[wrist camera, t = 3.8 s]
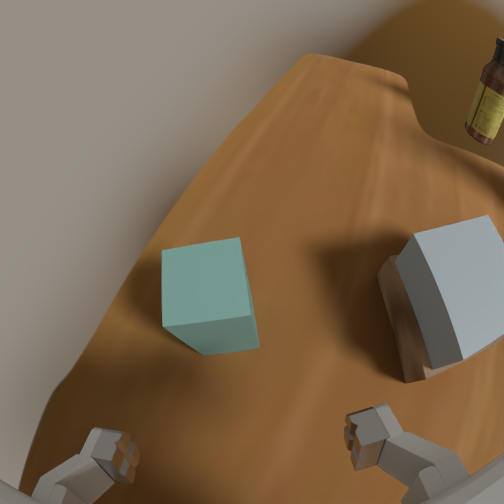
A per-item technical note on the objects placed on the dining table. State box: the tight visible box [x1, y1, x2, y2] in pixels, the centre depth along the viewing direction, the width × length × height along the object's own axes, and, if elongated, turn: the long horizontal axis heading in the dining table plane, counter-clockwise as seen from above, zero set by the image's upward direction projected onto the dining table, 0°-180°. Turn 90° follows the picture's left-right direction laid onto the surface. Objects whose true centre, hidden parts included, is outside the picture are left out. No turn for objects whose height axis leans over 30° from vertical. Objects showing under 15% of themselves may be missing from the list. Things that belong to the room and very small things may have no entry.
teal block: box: [162, 237, 260, 356], centre depth 18 cm, size 4×4×9 cm
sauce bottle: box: [465, 37, 504, 145], centre depth 25 cm, size 6×6×20 cm
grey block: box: [394, 215, 504, 370], centre depth 16 cm, size 9×9×4 cm
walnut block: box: [376, 254, 504, 383], centre depth 20 cm, size 10×10×4 cm
